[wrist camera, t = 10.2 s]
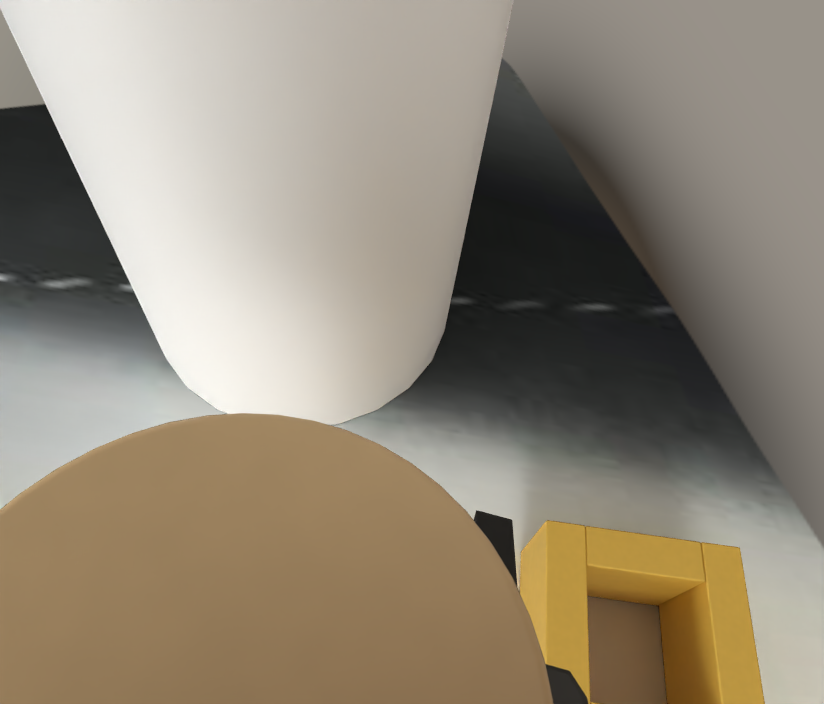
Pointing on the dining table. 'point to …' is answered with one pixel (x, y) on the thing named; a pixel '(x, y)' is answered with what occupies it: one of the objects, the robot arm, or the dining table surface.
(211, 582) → the peg
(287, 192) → the cylinder
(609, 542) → the yellow peg holder
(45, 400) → the dining table surface
